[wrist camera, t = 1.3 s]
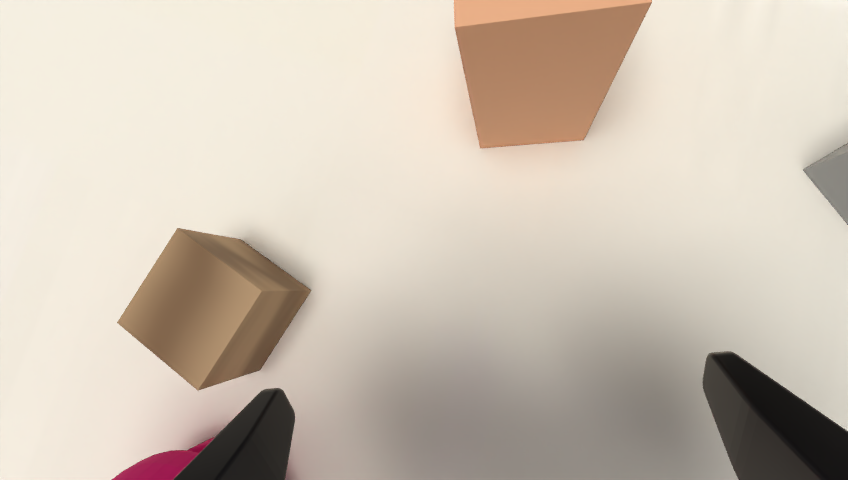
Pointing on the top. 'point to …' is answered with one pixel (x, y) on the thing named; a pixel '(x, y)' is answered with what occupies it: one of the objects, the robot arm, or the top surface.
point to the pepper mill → (162, 465)
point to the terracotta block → (541, 64)
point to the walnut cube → (212, 307)
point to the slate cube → (832, 179)
